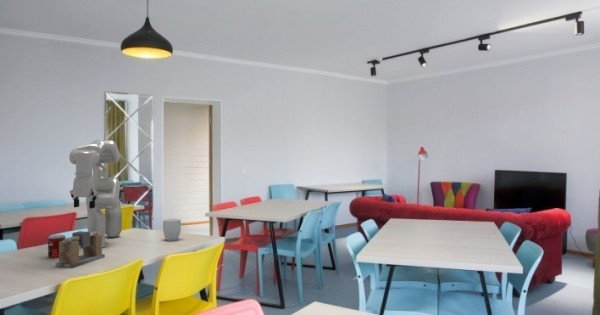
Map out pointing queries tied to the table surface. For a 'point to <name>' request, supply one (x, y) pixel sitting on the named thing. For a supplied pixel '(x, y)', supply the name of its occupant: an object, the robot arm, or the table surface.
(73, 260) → the rod stand
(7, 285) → the table surface
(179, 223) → the mug
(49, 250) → the canned food
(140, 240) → the table surface
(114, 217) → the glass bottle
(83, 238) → the dark grey block
